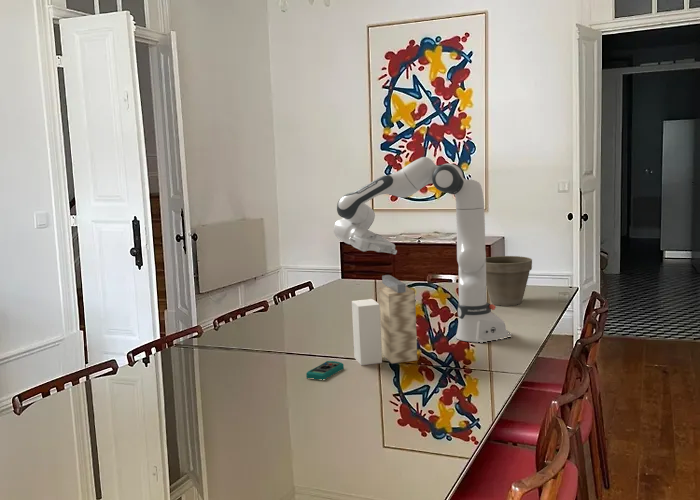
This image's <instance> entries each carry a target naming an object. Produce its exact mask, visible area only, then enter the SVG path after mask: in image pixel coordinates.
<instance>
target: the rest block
mask: <svg viewBox="0 0 700 500" xmlns="http://www.w3.org/2000/svg"><path fill="white" fill-rule="evenodd" d="M351 315H352V316H351V317H352V335H353V336H352V337H353V354H354V356H353V357H354V359H355V360H356V361H357V362H358V363H359V365H360V366H366V365H367V366H368V365H376V364H382V363H383V355H382V336H381V312H380V303H378V302H377V301H376V300H374V299H373V298H368V299H359V300H357V299H356V300H351Z"/></svg>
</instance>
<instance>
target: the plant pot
mask: <svg viewBox="0 0 700 500" xmlns="http://www.w3.org/2000/svg"><path fill="white" fill-rule="evenodd" d="M532 267H533V259H532V258H531V257H526V256H520V255H518V256H517V255H497V256H488V257H487V256H486V291H487V293H488V296H489V300H490V304H493V305H495V306H499V305H501V307H511V306H510V305H514V306H518V305H517V304H519V305H521V304H522V302H523V299H524V296H525V292H526V288H527V285H528V280H529V276H530V273H531V272H530V271H531V270H532ZM520 303H521V304H520Z"/></svg>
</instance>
